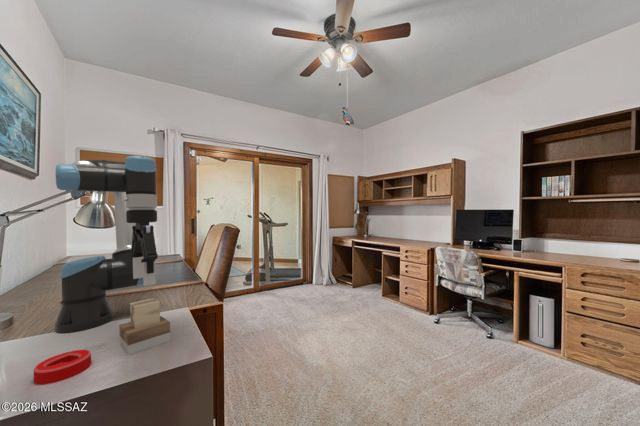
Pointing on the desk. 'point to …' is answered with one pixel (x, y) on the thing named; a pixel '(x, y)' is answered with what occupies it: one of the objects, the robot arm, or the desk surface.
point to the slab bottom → (146, 343)
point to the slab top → (143, 331)
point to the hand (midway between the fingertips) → (143, 281)
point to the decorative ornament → (62, 367)
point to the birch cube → (144, 313)
